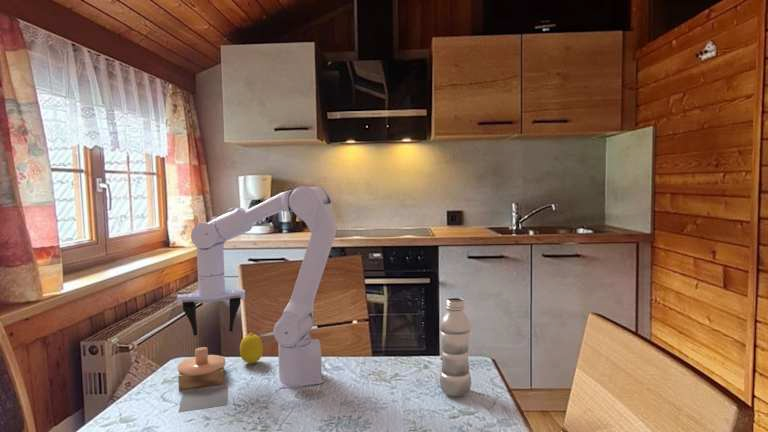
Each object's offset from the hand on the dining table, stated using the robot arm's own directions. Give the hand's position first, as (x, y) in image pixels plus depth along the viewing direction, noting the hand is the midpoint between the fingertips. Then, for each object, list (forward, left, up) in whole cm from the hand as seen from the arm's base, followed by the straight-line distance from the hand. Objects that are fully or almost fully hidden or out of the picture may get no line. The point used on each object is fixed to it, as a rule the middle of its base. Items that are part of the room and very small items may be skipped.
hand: (213, 332), depth 107 cm
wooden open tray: (+3, +2, -10) cm, 11 cm away
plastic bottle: (-48, +27, -11) cm, 56 cm away
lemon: (-8, -4, -11) cm, 14 cm away
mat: (+2, +12, -10) cm, 16 cm away
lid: (+3, +2, -7) cm, 8 cm away
